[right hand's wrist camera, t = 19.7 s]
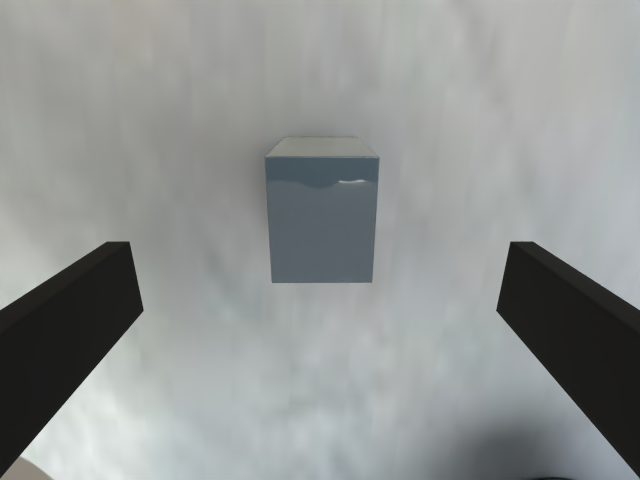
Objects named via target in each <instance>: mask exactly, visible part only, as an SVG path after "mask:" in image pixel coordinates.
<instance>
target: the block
mask: <svg viewBox="0 0 640 480" xmlns="http://www.w3.org/2000/svg"><path fill="white" fill-rule="evenodd" d="M265 173H266V190H267V208H268V225H269V243H270V260H271V278H272V283H371V282H372V277H373V260H374V242H375V225H376V208H377V191H378V174H379V156H378V155H377V154H376V153H375V152H374V151H372V150H371V149H370V148H369V147H368V146H367V145H366V144H365V143H363V142H362V141H361V140H360V139H359V138H358V137H284V138H283V139H282V140H281V141H280V142H279V143H278V144H277V145H276V146H275V147H274V148H273V149H272V150H271V151H270V152H269V153H268V154H267V155H266V156H265Z"/></svg>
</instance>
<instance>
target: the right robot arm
mask: <svg viewBox="0 0 640 480" xmlns="http://www.w3.org/2000/svg"><path fill="white" fill-rule="evenodd" d="M143 311H144V310H143V305H142V300H141V295H140V290H139V286H138V281H137V276H136V271H135V266H134V261H133V257H132V252H131V247H130V242H106V243H104V244H103V245H101V246H100V247H98V248H96V249H95V250H93V251H92V252H90V253H89V254H87V255H86V256H84V257H82V258H81V259H79V260H78V261H76V262H75V263H73V264H72V265H70V266H68V267H67V268H65V269H64V270H62V271H61V272H59V273H58V274H56V275H54V276H53V277H51V278H50V279H48V280H47V281H45V282H44V283H42V284H40V285H39V286H37V287H36V288H34V289H33V290H31V291H30V292H28V293H26V294H25V295H23V296H22V297H20V298H19V299H17V300H16V301H14V302H12V303H11V304H9V305H8V306H6V307H5V308H3V309H2V310H0V478H1V477H2V476H3V474H4V473H5V472H6V471H7V470H8V469H9V467H10V466H11V465H12V464H13V463H14V462H15V460H16V459H17V458H18V457H19V456H20V455H21V453H22V452H23V451H24V450H25V449H26V448H27V446H28V445H29V444H30V443H31V442H32V441H33V439H34V438H35V437H36V436H37V435H38V434H39V432H40V431H41V430H42V429H43V428H44V427H45V425H46V424H47V423H48V422H49V421H50V420H51V418H52V417H53V416H54V415H55V414H56V413H57V411H58V410H59V409H60V408H61V407H62V406H63V404H64V403H65V402H66V401H67V400H68V399H69V397H70V396H71V395H72V394H73V393H74V392H75V390H76V389H77V388H78V387H79V386H80V385H81V383H82V382H83V381H84V380H85V379H86V377H87V376H88V375H89V374H90V373H91V372H92V370H93V369H94V368H95V367H96V366H97V365H98V363H99V362H100V361H101V360H102V359H103V358H104V356H105V355H106V354H107V353H108V352H109V351H110V349H111V348H112V347H113V346H114V345H115V344H116V342H117V341H118V340H119V339H120V338H121V337H122V335H123V334H124V333H125V332H126V331H127V330H128V328H129V327H130V326H131V325H132V324H133V323H134V321H135V320H136V319H137V318H138V317H139V316H140V314H141V313H142V312H143ZM496 311H497V312H498V313H499V314H500V316H501V317H502V318H503V319H504V320H505V321H506V323H507V324H508V325H509V326H510V327H511V328H512V330H513V331H514V332H515V333H516V334H517V335H518V337H519V338H520V339H521V340H522V341H523V342H524V344H525V345H526V346H527V347H528V348H529V349H530V351H531V352H532V353H533V354H534V355H535V356H536V358H537V359H538V360H539V361H540V362H541V363H542V365H543V366H544V367H545V368H546V369H547V370H548V372H549V373H550V374H551V375H552V376H553V377H554V379H555V380H556V381H557V382H558V383H559V385H560V386H561V387H562V388H563V389H564V390H565V392H566V393H567V394H568V395H569V396H570V397H571V399H572V400H573V401H574V402H575V403H576V404H577V406H578V407H579V408H580V409H581V410H582V411H583V413H584V414H585V415H586V416H587V417H588V418H589V420H590V421H591V422H592V423H593V424H594V425H595V427H596V428H597V429H598V430H599V431H600V432H601V434H602V435H603V436H604V437H605V438H606V439H607V441H608V442H609V443H610V444H611V445H612V446H613V448H614V449H615V450H616V451H617V452H618V453H619V455H620V456H621V457H622V458H623V459H624V460H625V462H626V463H627V464H628V465H629V466H630V467H631V469H632V470H633V471H634V472H635V473H636V474H637V476H638V477H639V478H640V310H638V309H637V308H635V307H634V306H632V305H631V304H629V303H628V302H626V301H624V300H623V299H621V298H620V297H618V296H617V295H615V294H614V293H612V292H610V291H609V290H607V289H606V288H604V287H603V286H601V285H600V284H598V283H596V282H595V281H593V280H592V279H590V278H589V277H587V276H586V275H584V274H582V273H581V272H579V271H578V270H576V269H575V268H573V267H572V266H570V265H568V264H567V263H565V262H564V261H562V260H561V259H559V258H558V257H556V256H554V255H553V254H551V253H550V252H548V251H547V250H545V249H544V248H542V247H540V246H539V245H537V244H536V243H534V242H510V247H509V252H508V257H507V261H506V266H505V271H504V276H503V281H502V286H501V290H500V295H499V300H498V305H497V310H496Z"/></svg>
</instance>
